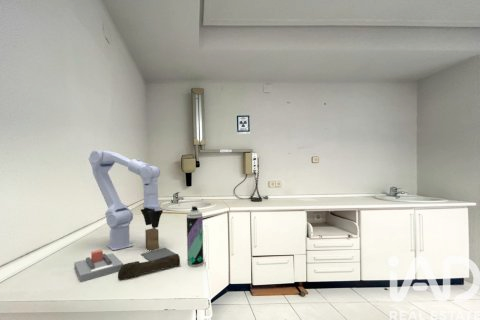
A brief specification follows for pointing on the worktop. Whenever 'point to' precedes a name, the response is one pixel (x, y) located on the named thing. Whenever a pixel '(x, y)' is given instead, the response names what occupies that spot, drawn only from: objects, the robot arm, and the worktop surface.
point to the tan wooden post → (152, 239)
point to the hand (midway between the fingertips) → (151, 226)
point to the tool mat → (158, 254)
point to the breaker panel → (97, 267)
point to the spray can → (194, 237)
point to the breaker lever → (97, 256)
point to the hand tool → (147, 266)
